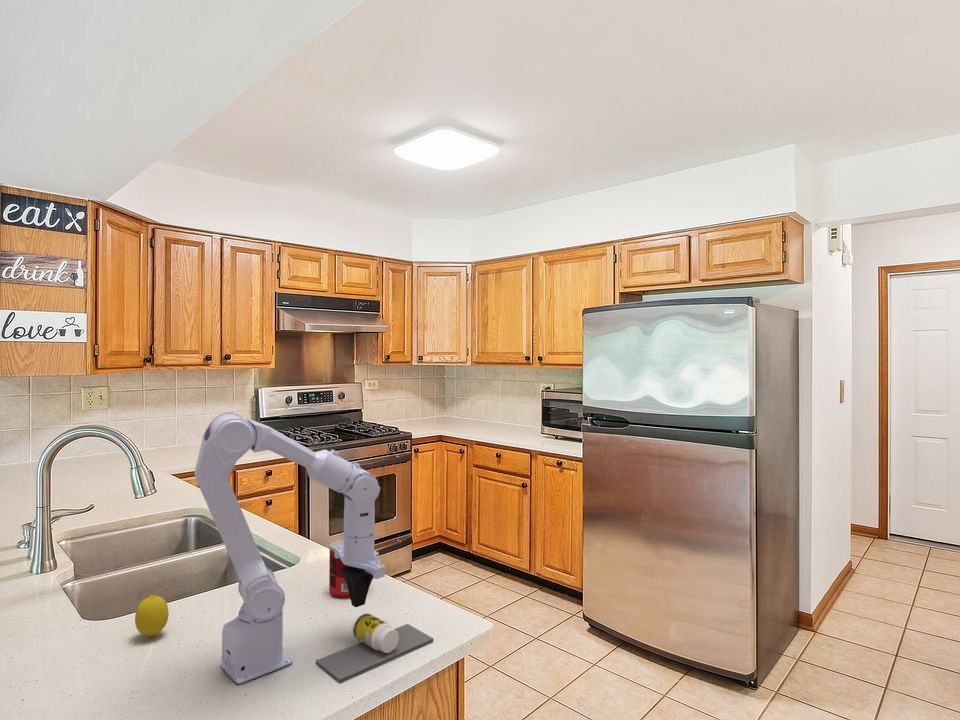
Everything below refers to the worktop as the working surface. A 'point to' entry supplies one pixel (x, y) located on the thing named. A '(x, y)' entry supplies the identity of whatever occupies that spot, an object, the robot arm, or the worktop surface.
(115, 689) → the worktop surface
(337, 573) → the canned food
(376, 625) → the supplement bottle
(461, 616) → the worktop surface
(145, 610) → the lemon
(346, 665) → the mat
